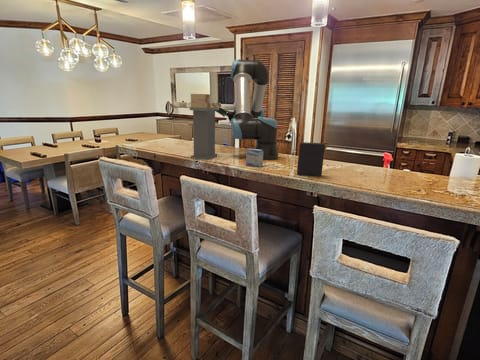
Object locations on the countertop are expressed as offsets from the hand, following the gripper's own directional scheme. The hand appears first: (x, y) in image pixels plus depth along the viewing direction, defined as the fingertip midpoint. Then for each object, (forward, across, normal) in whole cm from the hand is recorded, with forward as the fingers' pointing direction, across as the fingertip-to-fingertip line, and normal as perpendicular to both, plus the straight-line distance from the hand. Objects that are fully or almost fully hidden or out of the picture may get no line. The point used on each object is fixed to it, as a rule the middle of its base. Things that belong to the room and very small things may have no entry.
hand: (224, 103), depth 183 cm
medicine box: (+15, -34, -43) cm, 56 cm away
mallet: (+18, 0, -12) cm, 21 cm away
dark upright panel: (+20, -63, -46) cm, 80 cm away
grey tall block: (+9, 0, -39) cm, 40 cm away
